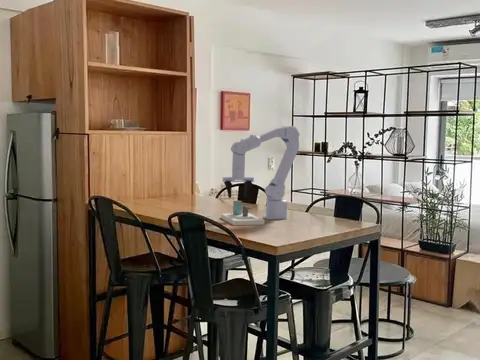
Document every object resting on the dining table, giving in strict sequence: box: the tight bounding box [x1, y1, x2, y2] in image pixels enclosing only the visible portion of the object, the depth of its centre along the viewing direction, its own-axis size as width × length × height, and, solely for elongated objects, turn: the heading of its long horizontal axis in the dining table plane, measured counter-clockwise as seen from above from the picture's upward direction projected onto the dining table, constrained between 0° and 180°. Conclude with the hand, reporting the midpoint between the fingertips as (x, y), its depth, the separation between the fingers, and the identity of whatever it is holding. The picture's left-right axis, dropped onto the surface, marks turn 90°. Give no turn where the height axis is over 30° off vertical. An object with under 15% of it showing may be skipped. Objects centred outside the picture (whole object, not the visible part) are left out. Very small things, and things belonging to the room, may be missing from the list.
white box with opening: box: [220, 205, 265, 226], centre depth 244 cm, size 14×20×6 cm
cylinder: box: [232, 200, 243, 215], centre depth 250 cm, size 4×4×6 cm
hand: (237, 197), depth 250 cm, fingers open, 7 cm apart
